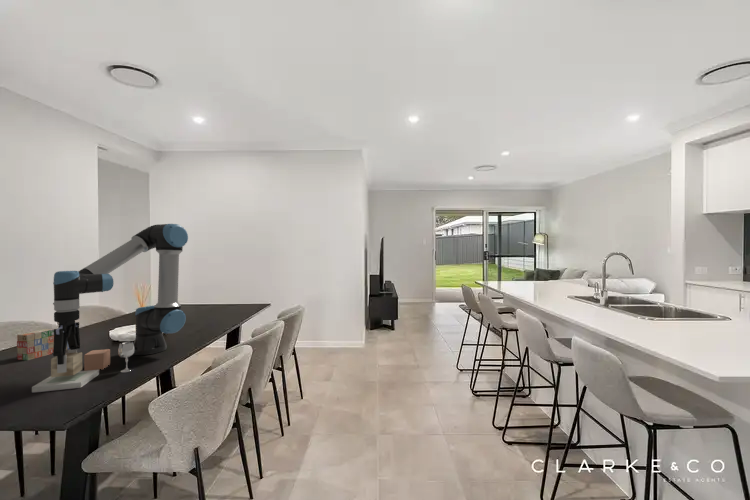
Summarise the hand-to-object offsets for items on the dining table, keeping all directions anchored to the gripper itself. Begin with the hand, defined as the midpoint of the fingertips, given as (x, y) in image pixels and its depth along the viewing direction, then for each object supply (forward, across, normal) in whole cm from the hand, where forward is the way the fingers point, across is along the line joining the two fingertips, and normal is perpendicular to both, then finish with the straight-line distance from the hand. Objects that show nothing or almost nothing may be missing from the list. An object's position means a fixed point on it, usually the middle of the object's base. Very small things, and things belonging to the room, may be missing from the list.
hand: (67, 369), depth 139 cm
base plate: (+5, 0, 0) cm, 5 cm away
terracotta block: (+6, -18, +3) cm, 19 cm away
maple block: (+2, 0, 0) cm, 2 cm away
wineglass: (+6, -9, +17) cm, 20 cm away
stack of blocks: (+6, -52, -32) cm, 61 cm away
